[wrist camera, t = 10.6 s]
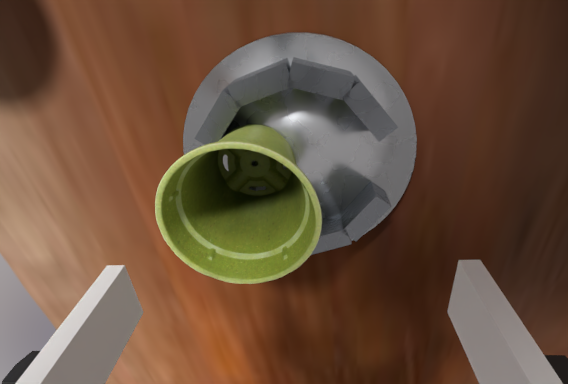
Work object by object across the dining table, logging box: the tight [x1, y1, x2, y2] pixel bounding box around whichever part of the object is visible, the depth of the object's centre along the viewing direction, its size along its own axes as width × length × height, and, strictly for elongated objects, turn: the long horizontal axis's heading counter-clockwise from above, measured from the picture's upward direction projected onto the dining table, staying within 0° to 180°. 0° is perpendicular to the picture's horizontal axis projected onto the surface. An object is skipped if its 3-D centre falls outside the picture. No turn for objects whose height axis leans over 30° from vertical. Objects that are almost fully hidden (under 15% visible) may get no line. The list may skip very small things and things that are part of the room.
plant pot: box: [155, 124, 322, 284], centre depth 23 cm, size 9×9×9 cm
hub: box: [183, 32, 417, 255], centre depth 26 cm, size 18×18×4 cm
